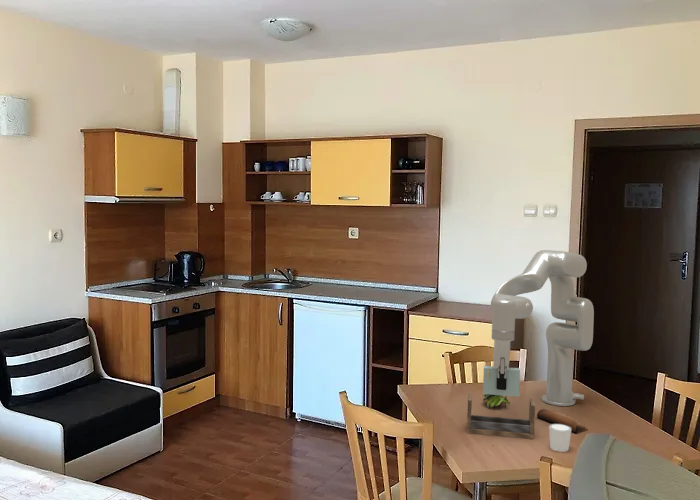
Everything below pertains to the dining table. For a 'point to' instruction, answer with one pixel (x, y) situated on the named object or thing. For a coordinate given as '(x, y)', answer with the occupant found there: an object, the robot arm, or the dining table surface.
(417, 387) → the dining table surface
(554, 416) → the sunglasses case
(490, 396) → the passion flower
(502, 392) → the pale green box
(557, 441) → the white cup
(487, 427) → the wooden book rack
